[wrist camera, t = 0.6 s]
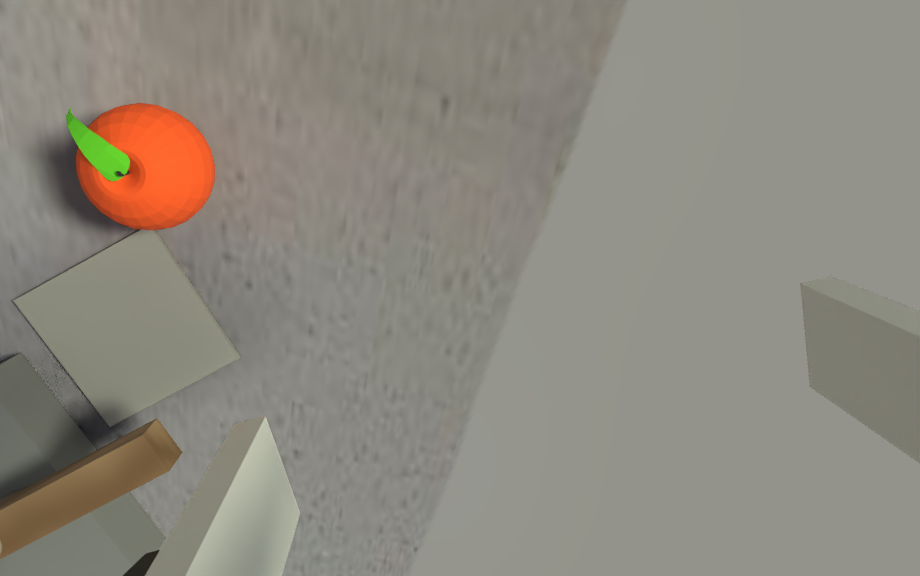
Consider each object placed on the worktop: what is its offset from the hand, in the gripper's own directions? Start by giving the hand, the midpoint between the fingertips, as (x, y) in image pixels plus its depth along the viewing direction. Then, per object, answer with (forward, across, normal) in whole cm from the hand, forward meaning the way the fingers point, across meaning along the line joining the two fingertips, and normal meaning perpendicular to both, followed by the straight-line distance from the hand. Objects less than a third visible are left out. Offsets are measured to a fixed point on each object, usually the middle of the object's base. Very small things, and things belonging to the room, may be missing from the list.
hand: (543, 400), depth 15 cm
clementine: (+27, -17, +8) cm, 33 cm away
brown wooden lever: (+22, -27, -9) cm, 36 cm away
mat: (+26, -23, -2) cm, 35 cm away
